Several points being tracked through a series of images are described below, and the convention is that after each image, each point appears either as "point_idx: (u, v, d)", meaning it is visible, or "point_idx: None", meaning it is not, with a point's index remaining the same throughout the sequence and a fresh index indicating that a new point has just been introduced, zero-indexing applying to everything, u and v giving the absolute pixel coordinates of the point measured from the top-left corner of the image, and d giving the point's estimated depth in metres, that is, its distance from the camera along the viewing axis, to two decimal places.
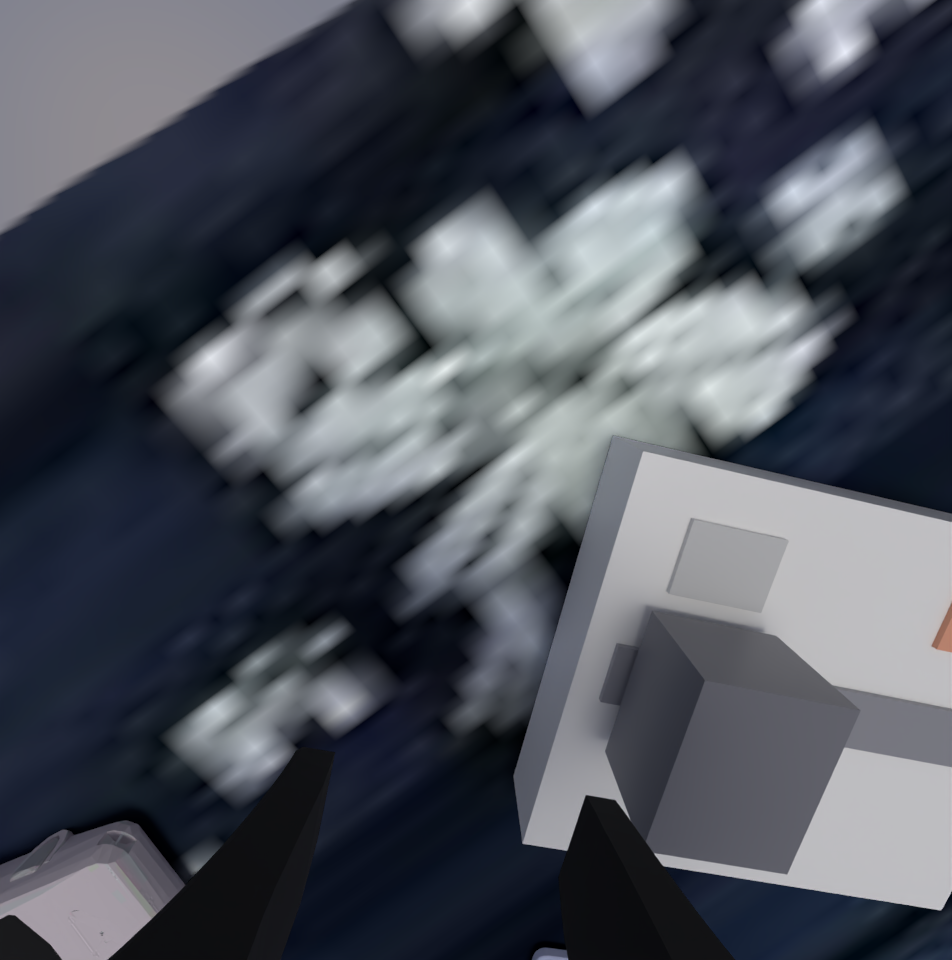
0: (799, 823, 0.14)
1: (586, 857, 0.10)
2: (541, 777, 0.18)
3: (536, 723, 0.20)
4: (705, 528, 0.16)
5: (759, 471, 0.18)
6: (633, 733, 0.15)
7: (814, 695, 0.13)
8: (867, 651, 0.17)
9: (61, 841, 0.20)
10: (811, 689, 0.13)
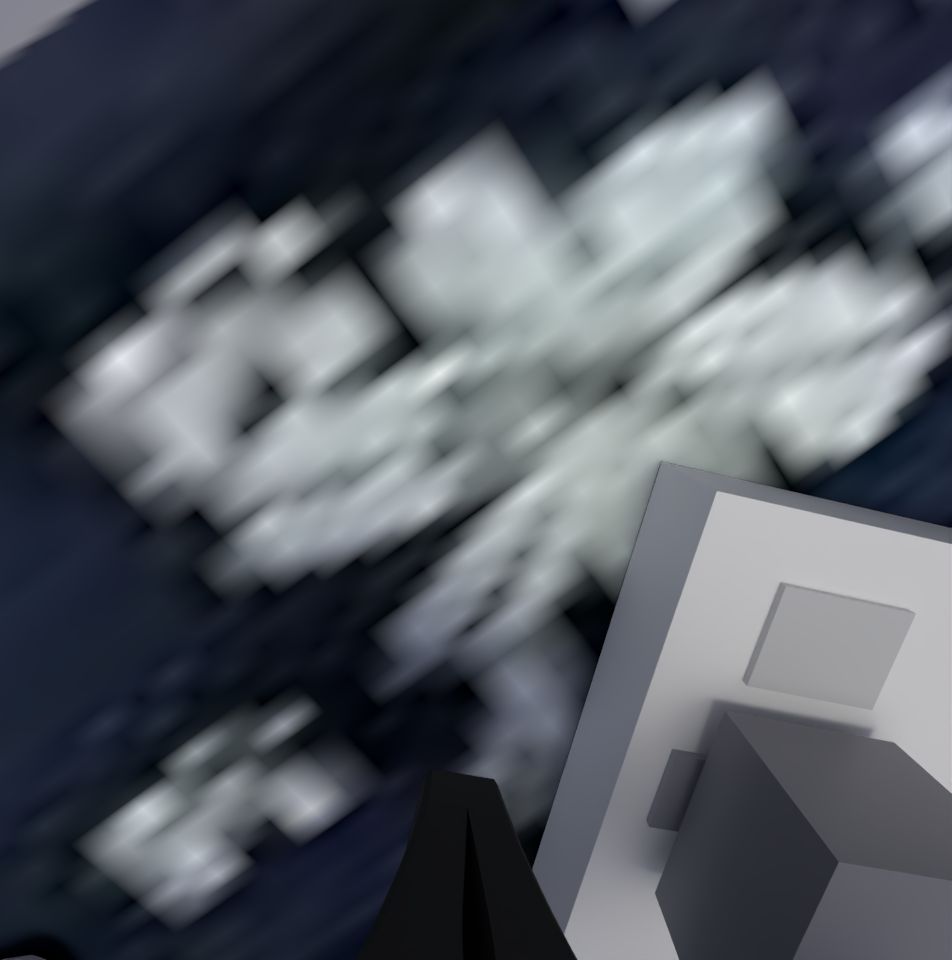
0: None
1: None
2: (565, 918, 0.13)
3: (556, 831, 0.15)
4: (801, 597, 0.11)
5: (858, 510, 0.13)
6: (702, 888, 0.11)
7: None
8: None
9: None
10: None
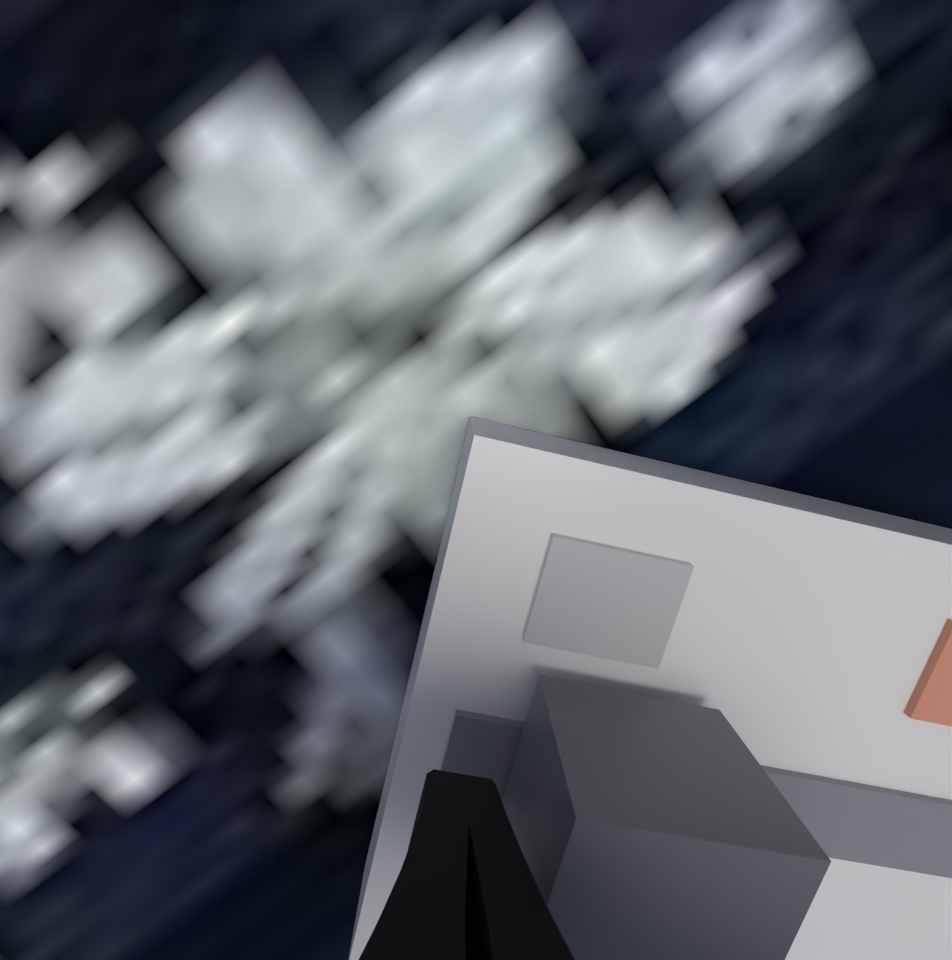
0: None
1: None
2: (365, 888, 0.13)
3: (381, 801, 0.15)
4: (570, 548, 0.11)
5: (667, 466, 0.13)
6: None
7: (758, 833, 0.08)
8: (812, 720, 0.12)
9: None
10: (755, 818, 0.09)
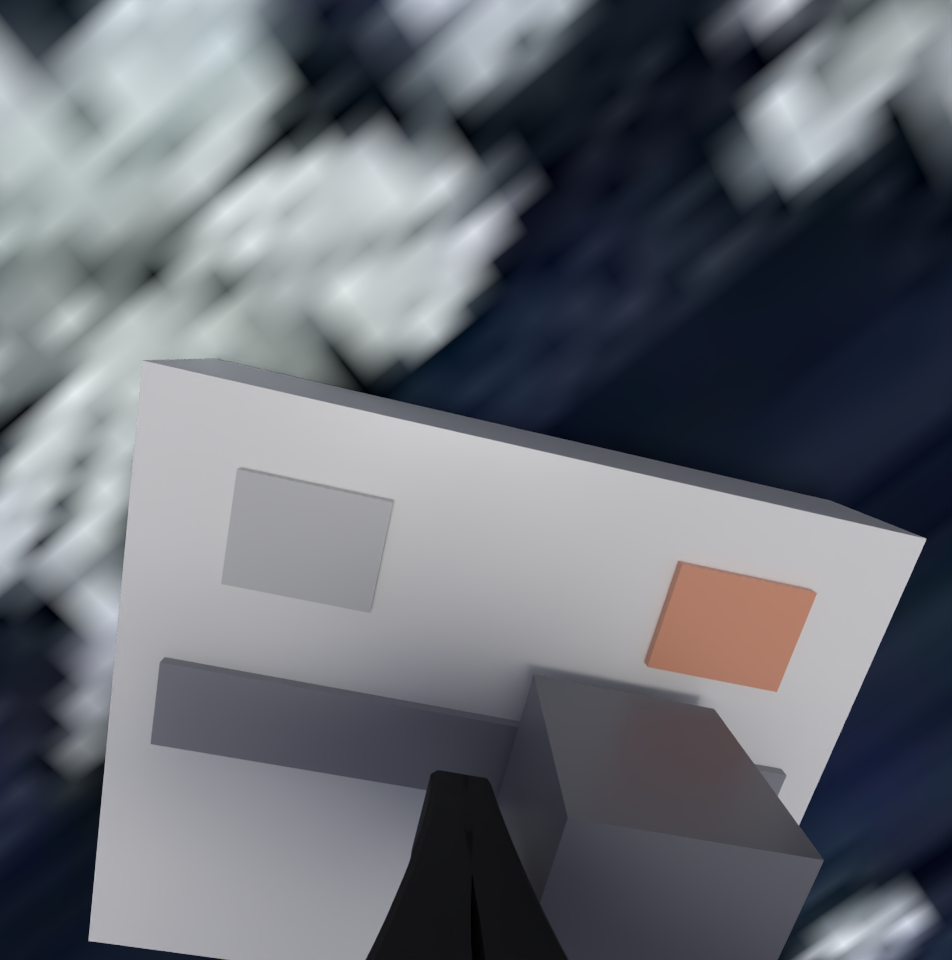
0: None
1: None
2: (100, 849, 0.12)
3: None
4: (257, 482, 0.10)
5: (411, 408, 0.12)
6: None
7: (751, 832, 0.08)
8: (548, 670, 0.12)
9: None
10: (748, 818, 0.09)
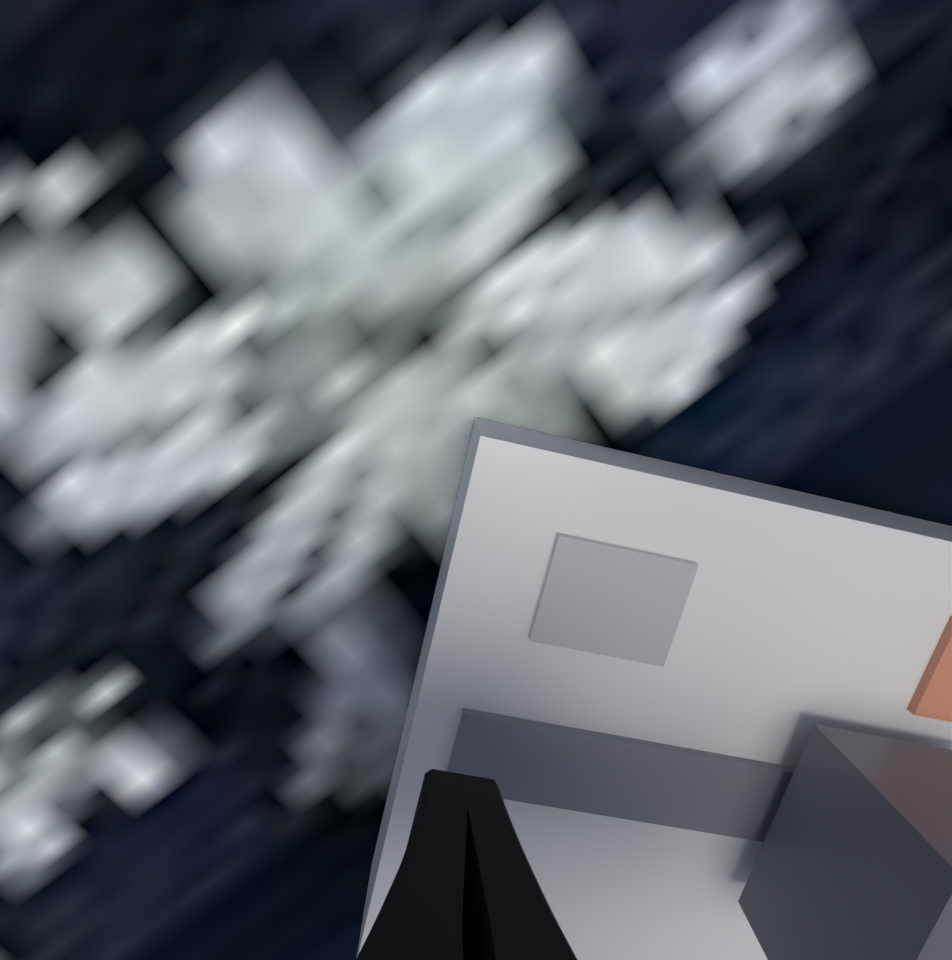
0: None
1: None
2: (373, 886, 0.13)
3: (388, 800, 0.15)
4: (576, 548, 0.11)
5: (671, 466, 0.13)
6: (796, 898, 0.11)
7: None
8: (816, 717, 0.12)
9: None
10: None
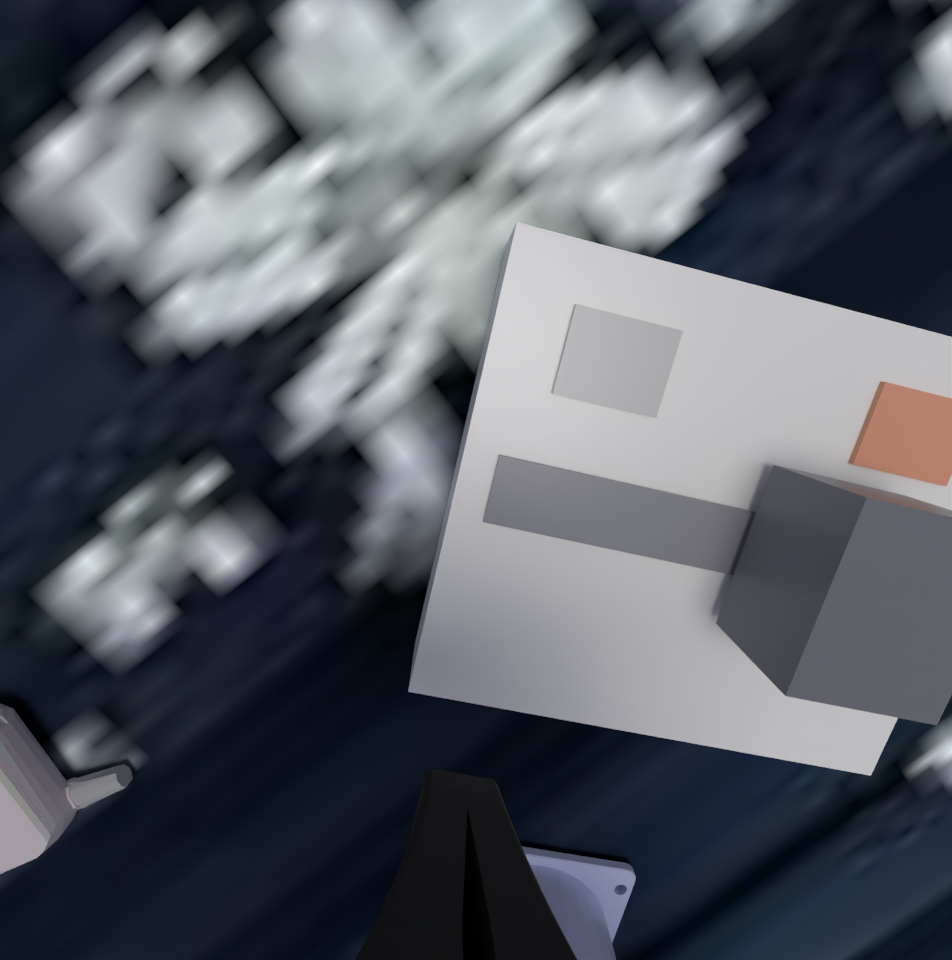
0: None
1: None
2: (425, 615, 0.16)
3: (432, 573, 0.18)
4: (589, 314, 0.14)
5: None
6: (758, 590, 0.14)
7: None
8: None
9: None
10: None
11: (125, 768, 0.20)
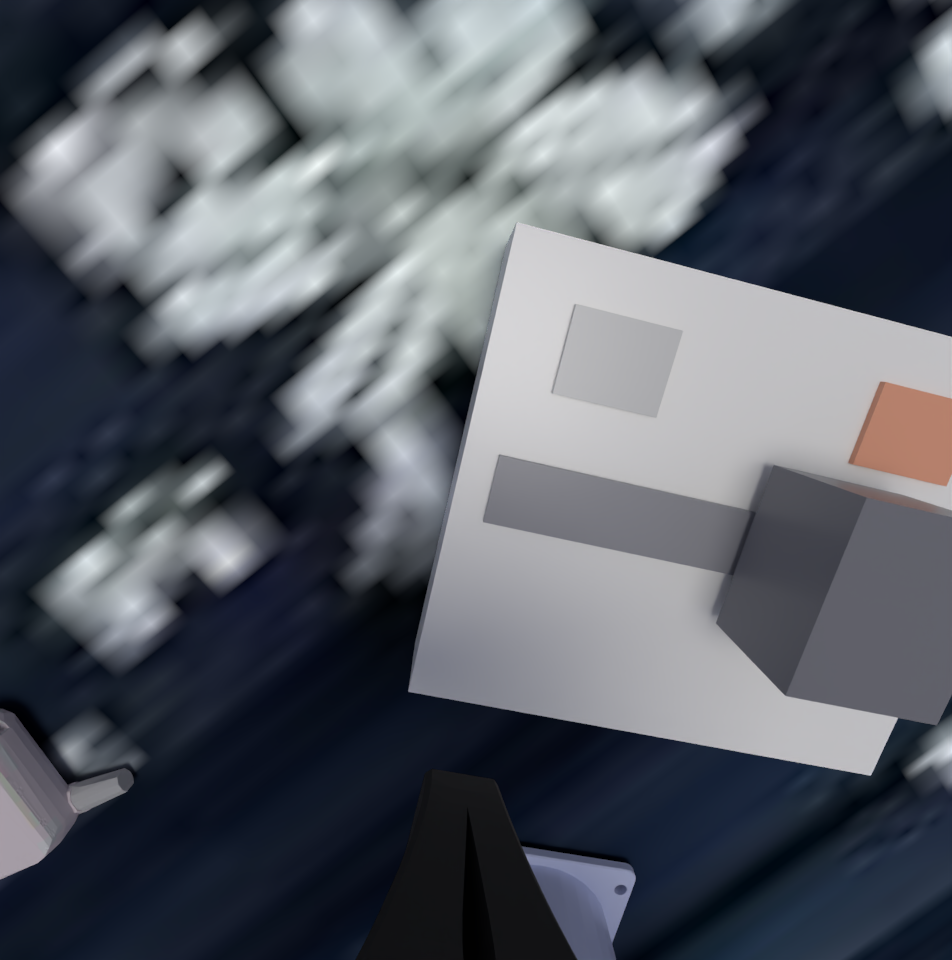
0: None
1: None
2: (425, 615, 0.16)
3: (432, 573, 0.18)
4: (589, 314, 0.14)
5: None
6: (758, 590, 0.14)
7: None
8: None
9: None
10: None
11: (126, 772, 0.20)
